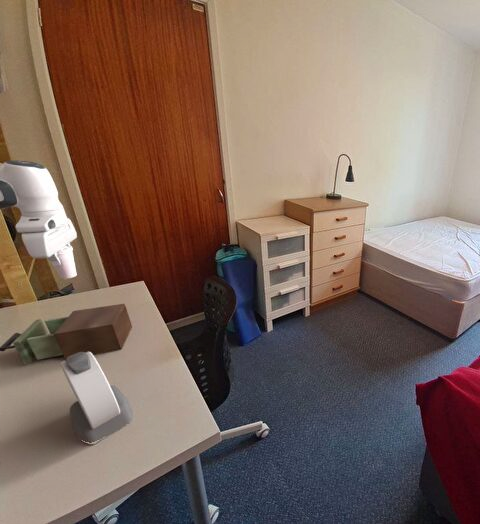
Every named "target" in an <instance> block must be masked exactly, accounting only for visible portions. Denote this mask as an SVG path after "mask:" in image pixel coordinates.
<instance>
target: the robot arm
mask: <svg viewBox="0 0 480 524" xmlns="http://www.w3.org/2000/svg"><path fill="white" fill-rule="evenodd" d="M59 199H60V198H59V191H58V189H57V186H56V183H55V181H54V179H53V177H52V175H51V173H50V172H49V170H48V168H46V167H45V166H44V165H42V164H40V163H37V162H35V161H34V162H33V161H27V160H6V161H5V162H3V163H2V164H1V165H0V210H5V209H8V208H13V207H14V208H18V209H19V211H20V213H21V215H20V218H19V220H18V222H16V224H15V230H16V231H17V233H20V234H21V240H22V242H23V245H24V247H25V249H26V251H27V253H28V255H30V257H31V258H33V259H35V260H37V259H47V260H49V261H50V263H51V265H52V267H54V266H60V265H61V264H62V261H61V259H59V258H58V257H57V251H59V250H60V249H62V248H63V247H64V246H66V245H70V246H72V245H71V243H72V242H73V241H74V240H76V239H77V238H78V234H77V231H76V228H75V226H74V224H73V222H72V221H71V218H69V217H68V216H67V214H66V210H65V208H64V205H63V204H62V202H61V201H60V200H59Z"/></svg>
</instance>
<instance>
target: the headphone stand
mask: <svg viewBox="0 0 480 524" xmlns="http://www.w3.org/2000/svg"><path fill="white" fill-rule="evenodd" d="M60 367H61V370H62V372H63V373H64V376H65V378H66V380H67V382H68V385H69V386H70V388H71V390H72V392H73V394H74V396H75V398H76V401H74V403H72V404H71V406H70V408H69V418H70V425H71V428H72V430H73V432H74V434H75V436H76V437H77V436H78V437H77V438H78V439H79V438H80V439H81V440H83V441H85V442H89V443H92V442H95V441H97V440H100V439H102V438H103V437H105V436H108V435H110V434H111V435H113V434H115V433H116V432H118V431H119V430H121V429H123V428H124V427H126V426H127V425H126V424H128V425H129V424H130V423H131V422H132V421H133V409H132V406H131V404H130V402H129V399H128V397H127V395H125V394H124V393H123V392H122V390H121V389H119V387H117V386H116V385H111V384H110V383H109V381H108V378H107V377H106V375H105V373H104V371H103V369H102V367H101V365H100V364H99V362H98V360H97V358H96V357H95V355H93V354H92V353H91V352H86V353H85V352H78V353H76V354H74V355H71V356H69V357H67V359H65V361H62V362H60ZM131 420H132V421H131ZM130 421H131V422H130ZM125 425H126V426H125ZM123 426H124V427H123ZM122 427H123V428H122ZM111 435H110V436H111ZM108 437H109V436H108ZM80 439H79V440H80ZM81 440H80V441H81Z"/></svg>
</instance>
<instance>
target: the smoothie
mask: <svg viewBox="0 0 480 524" xmlns="http://www.w3.org/2000/svg"><path fill="white" fill-rule="evenodd" d="M70 245H71V244H70ZM70 245H66V246H64V247H63V248H62V249H60V250H59V251H57V257H58V258H59V259H61V261H62V264H61V265H60V266H53V267H54V269H55V270H56V272H57V273H58V275H59V277H60V279H62V280H67V279H72V278H75V277H76V276H77V275H78V274H77V269H76V263H75V258H74V252H73V250H74V248H73V246H72V245H71V246H70Z"/></svg>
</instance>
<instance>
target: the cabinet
mask: <svg viewBox="0 0 480 524" xmlns="http://www.w3.org/2000/svg"><path fill="white" fill-rule="evenodd" d="M67 317H68V318H67V319H66V320H65V321H64V323H63V324H62V325H61V326H60V327H59V328H58V330H57V331H56V332H55V333H54V336H55V338H56V340H57V343H58V345H59V347H60V349H61V351H62V353H63V355H62V356H63V357H64V359H65V360H66V359H67V357H69V356H71V355H74V354H76V353H78V352H85V353H86V352H91V353H92V354H93V356H96V355H100V354H106V353H111V352H117V351H121V350H123V348H124V345H125V343H126V341H127V339H128V337H129V334H130V333H131V331H132V329H133V324H132V321H131V319H130V315H129V312H128V309H127V305H126V303H119V304H112V305H105V306H99V307H91V308H85V309H84V308H83V309H78V310H77V309H76V310H73V311H72V312H71V313H70V314H69V315H68V316H67Z"/></svg>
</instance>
